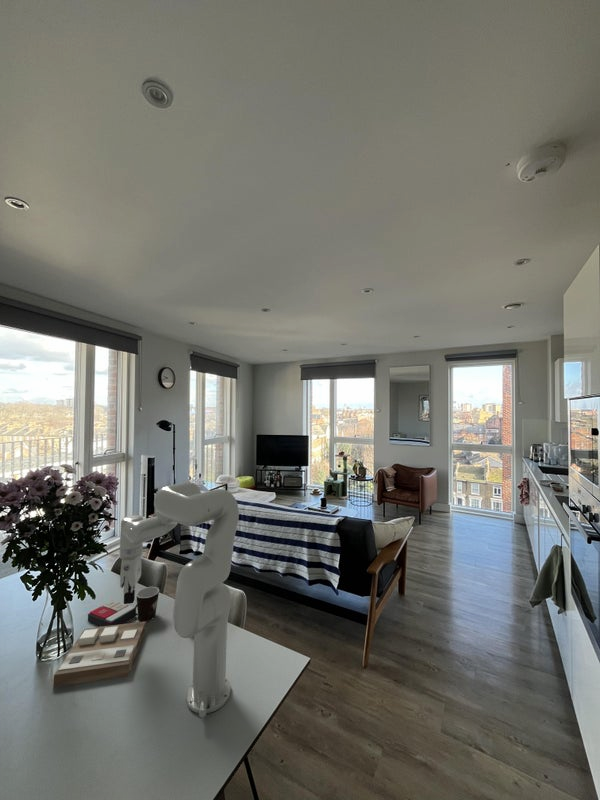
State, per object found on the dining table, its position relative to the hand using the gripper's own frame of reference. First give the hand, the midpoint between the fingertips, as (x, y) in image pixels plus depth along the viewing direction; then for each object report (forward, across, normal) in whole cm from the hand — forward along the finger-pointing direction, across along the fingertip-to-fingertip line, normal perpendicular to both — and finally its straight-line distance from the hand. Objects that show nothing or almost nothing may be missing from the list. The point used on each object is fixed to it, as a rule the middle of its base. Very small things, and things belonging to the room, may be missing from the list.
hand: (129, 602), depth 117 cm
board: (+15, -4, +6) cm, 17 cm away
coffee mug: (+15, +15, -2) cm, 22 cm away
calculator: (+15, +18, +11) cm, 26 cm away
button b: (+13, 0, +6) cm, 14 cm away
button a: (+15, 0, 0) cm, 15 cm away
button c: (+13, 0, +13) cm, 18 cm away
